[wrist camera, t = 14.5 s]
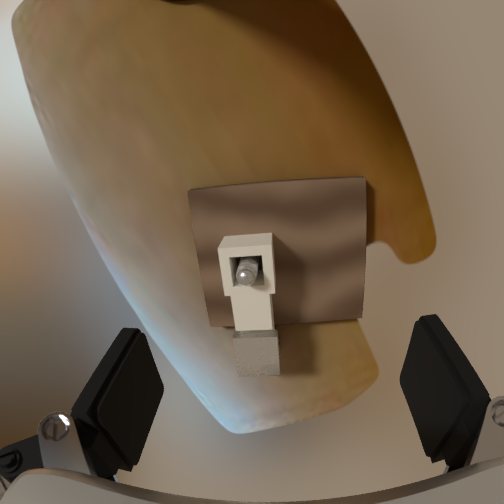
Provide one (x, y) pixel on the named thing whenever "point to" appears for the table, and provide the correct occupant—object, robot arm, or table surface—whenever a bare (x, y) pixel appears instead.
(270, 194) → the board
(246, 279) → the cylinder
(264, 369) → the block
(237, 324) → the link
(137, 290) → the table surface
